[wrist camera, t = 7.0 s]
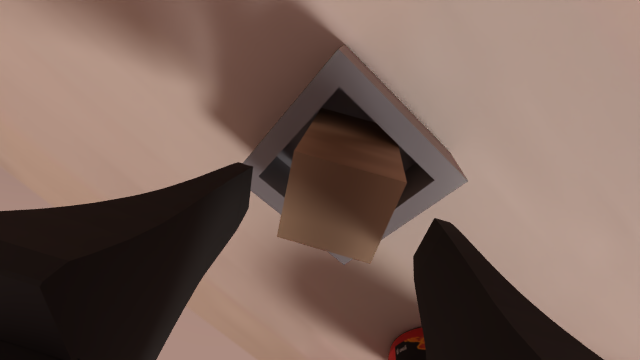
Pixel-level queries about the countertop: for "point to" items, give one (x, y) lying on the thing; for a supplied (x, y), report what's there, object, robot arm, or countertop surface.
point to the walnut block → (342, 186)
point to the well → (365, 103)
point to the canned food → (409, 346)
